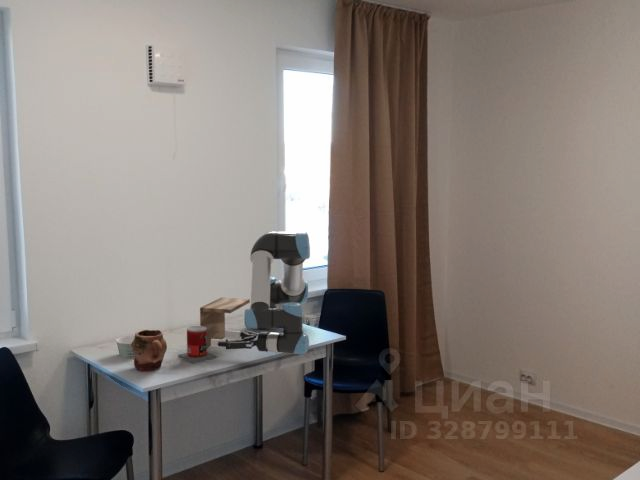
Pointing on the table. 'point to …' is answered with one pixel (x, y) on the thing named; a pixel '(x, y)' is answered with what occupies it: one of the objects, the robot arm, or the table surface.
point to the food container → (125, 346)
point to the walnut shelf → (218, 316)
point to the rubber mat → (197, 359)
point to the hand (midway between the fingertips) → (218, 338)
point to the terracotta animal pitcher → (148, 349)
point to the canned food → (197, 341)
